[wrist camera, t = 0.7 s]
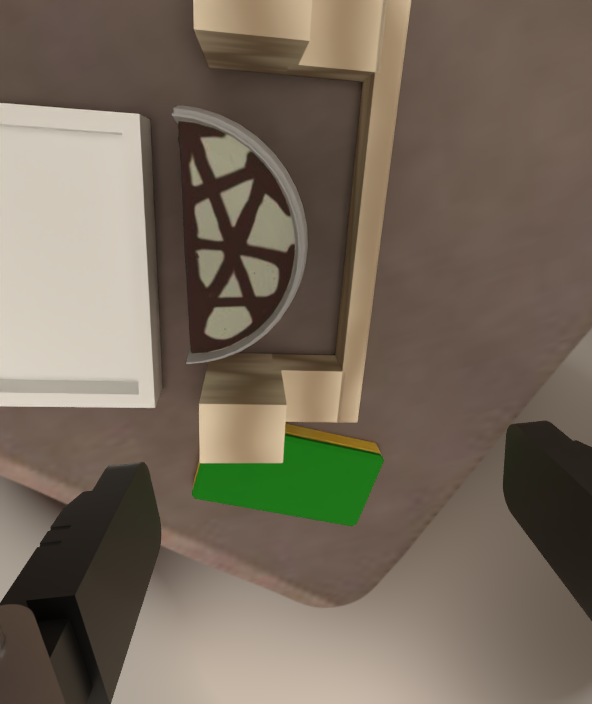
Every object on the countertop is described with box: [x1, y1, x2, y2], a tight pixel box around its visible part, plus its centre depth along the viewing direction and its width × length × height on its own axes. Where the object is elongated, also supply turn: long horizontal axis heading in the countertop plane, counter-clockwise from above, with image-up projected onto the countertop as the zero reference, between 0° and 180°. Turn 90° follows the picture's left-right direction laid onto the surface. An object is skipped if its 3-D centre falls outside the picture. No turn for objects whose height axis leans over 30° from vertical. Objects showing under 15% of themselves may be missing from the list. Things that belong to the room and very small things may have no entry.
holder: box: [193, 0, 411, 463], centre depth 27 cm, size 11×26×8 cm, turn 176°
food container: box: [172, 105, 308, 364], centre depth 26 cm, size 12×6×10 cm, turn 178°
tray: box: [0, 103, 163, 408], centre depth 29 cm, size 12×18×3 cm, turn 176°
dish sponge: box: [192, 423, 384, 526], centre depth 37 cm, size 7×14×2 cm, turn 73°
